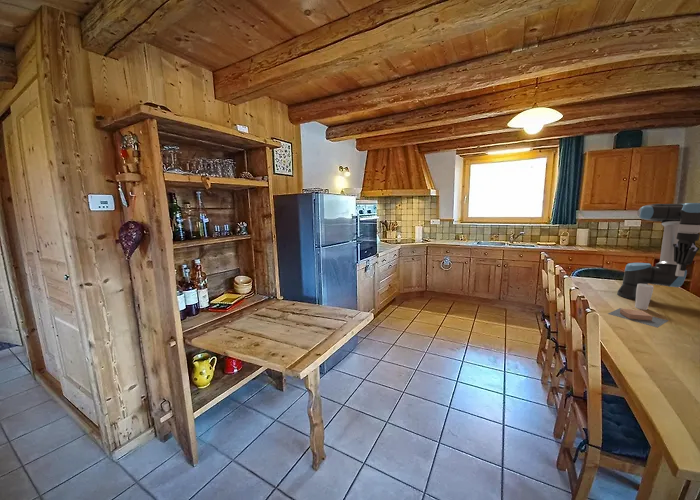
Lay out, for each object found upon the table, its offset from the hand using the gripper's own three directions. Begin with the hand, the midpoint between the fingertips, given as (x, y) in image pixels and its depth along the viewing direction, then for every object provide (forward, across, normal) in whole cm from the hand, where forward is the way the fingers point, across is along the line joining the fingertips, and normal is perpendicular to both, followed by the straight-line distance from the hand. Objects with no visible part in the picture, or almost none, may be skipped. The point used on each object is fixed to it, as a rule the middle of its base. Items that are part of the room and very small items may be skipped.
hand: (679, 275), depth 150 cm
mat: (+24, -5, +17) cm, 30 cm away
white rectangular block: (+25, +12, +6) cm, 28 cm away
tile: (+22, -5, +13) cm, 26 cm away
